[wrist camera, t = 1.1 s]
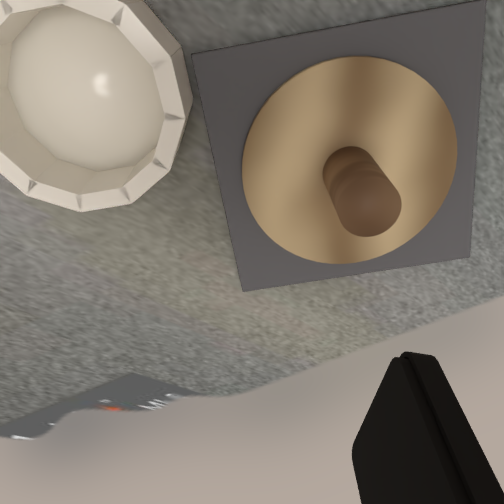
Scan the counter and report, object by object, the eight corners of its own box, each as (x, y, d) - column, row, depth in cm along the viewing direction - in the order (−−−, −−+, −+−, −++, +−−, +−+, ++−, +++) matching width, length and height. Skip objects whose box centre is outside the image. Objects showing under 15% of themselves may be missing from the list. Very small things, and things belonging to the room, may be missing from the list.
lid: (456, 35, 26) (513, 48, 20) (448, 241, 32) (491, 294, 27) (223, 78, 27) (217, 102, 21) (260, 271, 33) (263, 327, 28)
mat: (481, -1, 26) (486, -1, 25) (466, 253, 33) (469, 257, 33) (192, 53, 27) (191, 55, 26) (242, 287, 34) (242, 291, 34)
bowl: (162, -37, 25) (147, -41, 21) (208, 164, 30) (203, 191, 26) (-38, 3, 25) (-90, 7, 21) (41, 193, 31) (11, 223, 27)
